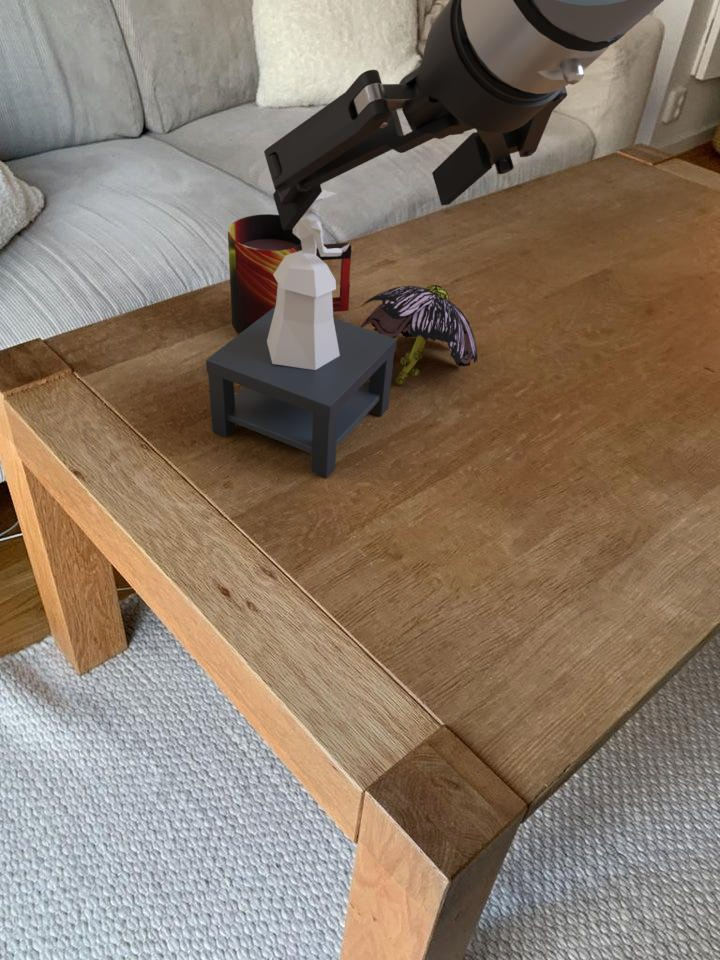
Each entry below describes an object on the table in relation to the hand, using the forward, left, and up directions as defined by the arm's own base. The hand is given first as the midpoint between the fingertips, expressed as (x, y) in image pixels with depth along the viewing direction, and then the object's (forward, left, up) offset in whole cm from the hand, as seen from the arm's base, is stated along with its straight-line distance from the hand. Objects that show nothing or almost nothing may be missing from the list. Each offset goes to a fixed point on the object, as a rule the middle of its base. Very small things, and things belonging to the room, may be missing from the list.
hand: (364, 200), depth 62 cm
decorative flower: (-3, +22, -29) cm, 36 cm away
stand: (-9, +6, -29) cm, 31 cm away
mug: (-22, +23, -29) cm, 43 cm away
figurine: (-9, +6, -20) cm, 22 cm away
